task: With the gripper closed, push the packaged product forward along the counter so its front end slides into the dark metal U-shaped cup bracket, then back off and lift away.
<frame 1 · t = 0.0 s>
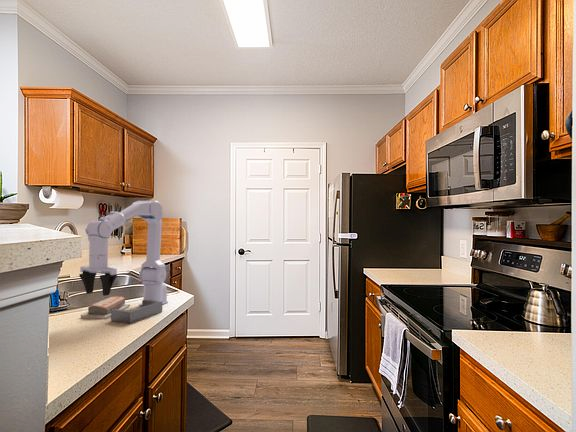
hand: (97, 294, 125), 10 cm above the table, tool pointing down, fingers open, 7 cm apart
cup bracket: (136, 315, 134), on the table
packaged product: (106, 313, 139), on the table
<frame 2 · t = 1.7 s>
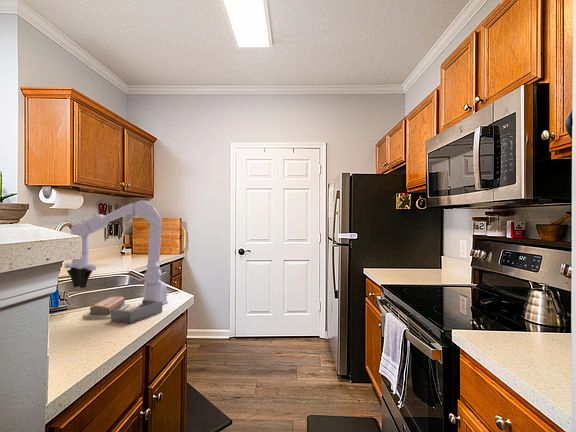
hand: (79, 287, 143), 8 cm above the table, tool pointing down, fingers open, 3 cm apart
nothing on the table moved.
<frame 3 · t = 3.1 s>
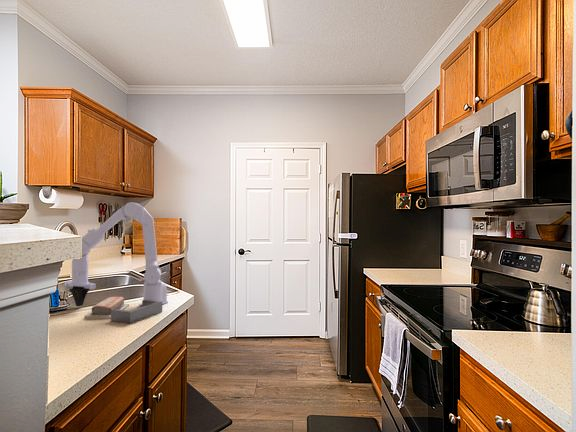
hand: (79, 305, 143), 1 cm above the table, tool pointing down, fingers closed
nothing on the table moved.
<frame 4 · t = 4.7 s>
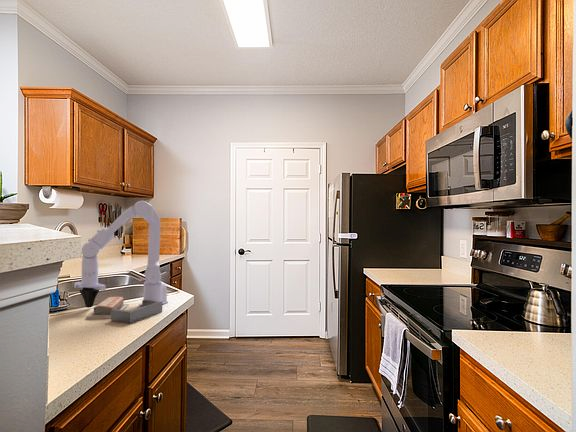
hand: (89, 306, 142), 1 cm above the table, tool pointing down, fingers closed
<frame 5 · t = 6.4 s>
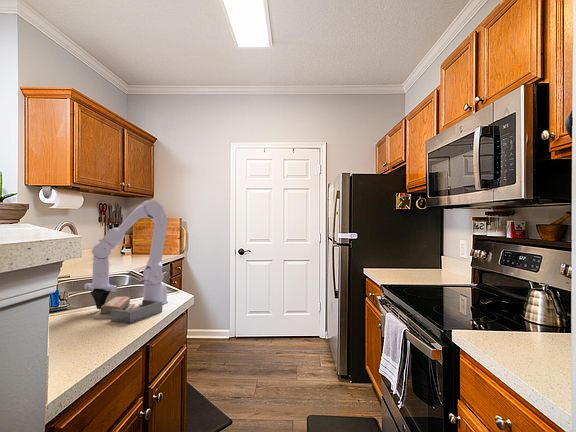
hand: (100, 308, 140), 1 cm above the table, tool pointing down, fingers closed
packaged product: (115, 313, 139), on the table
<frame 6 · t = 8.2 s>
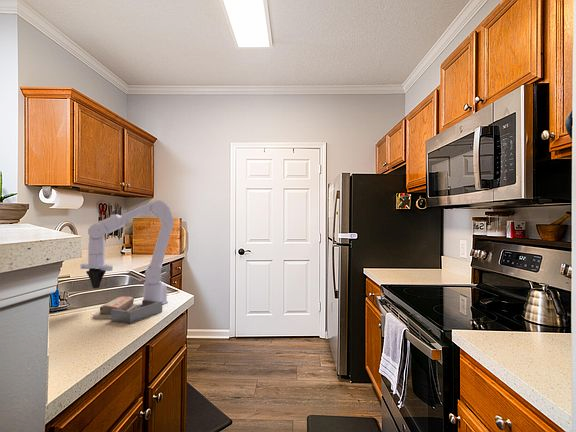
hand: (96, 287, 143), 8 cm above the table, tool pointing down, fingers closed
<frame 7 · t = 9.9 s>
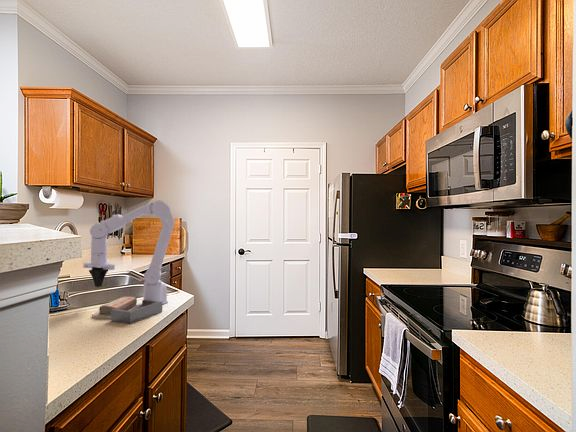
hand: (98, 286, 145), 8 cm above the table, tool pointing down, fingers closed
at the end: packaged product inside the target area (2.1 cm from its centre), on the table; packaged product tilted 0°; packaged product moved 4.6 cm from its start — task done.
